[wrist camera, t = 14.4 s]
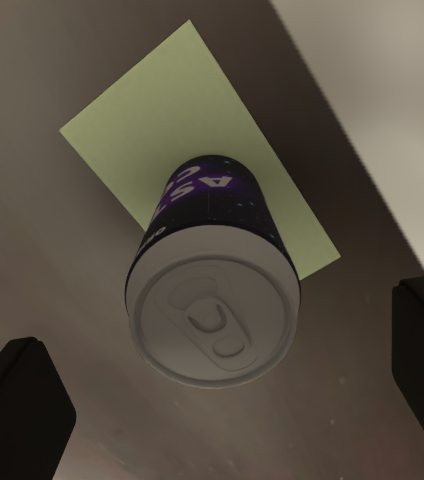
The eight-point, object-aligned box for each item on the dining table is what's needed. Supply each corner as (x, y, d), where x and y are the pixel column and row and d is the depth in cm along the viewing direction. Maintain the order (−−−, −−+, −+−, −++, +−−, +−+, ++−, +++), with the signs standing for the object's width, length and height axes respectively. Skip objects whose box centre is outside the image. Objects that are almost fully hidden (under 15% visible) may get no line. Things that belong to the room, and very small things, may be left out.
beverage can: (231, 132, 20) (255, 200, 9) (276, 216, 22) (340, 355, 11) (145, 182, 21) (73, 296, 10) (195, 257, 23) (181, 421, 12)
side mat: (340, 255, 23) (341, 256, 23) (224, 322, 25) (225, 324, 25) (189, 19, 18) (189, 19, 18) (59, 130, 20) (58, 130, 20)
